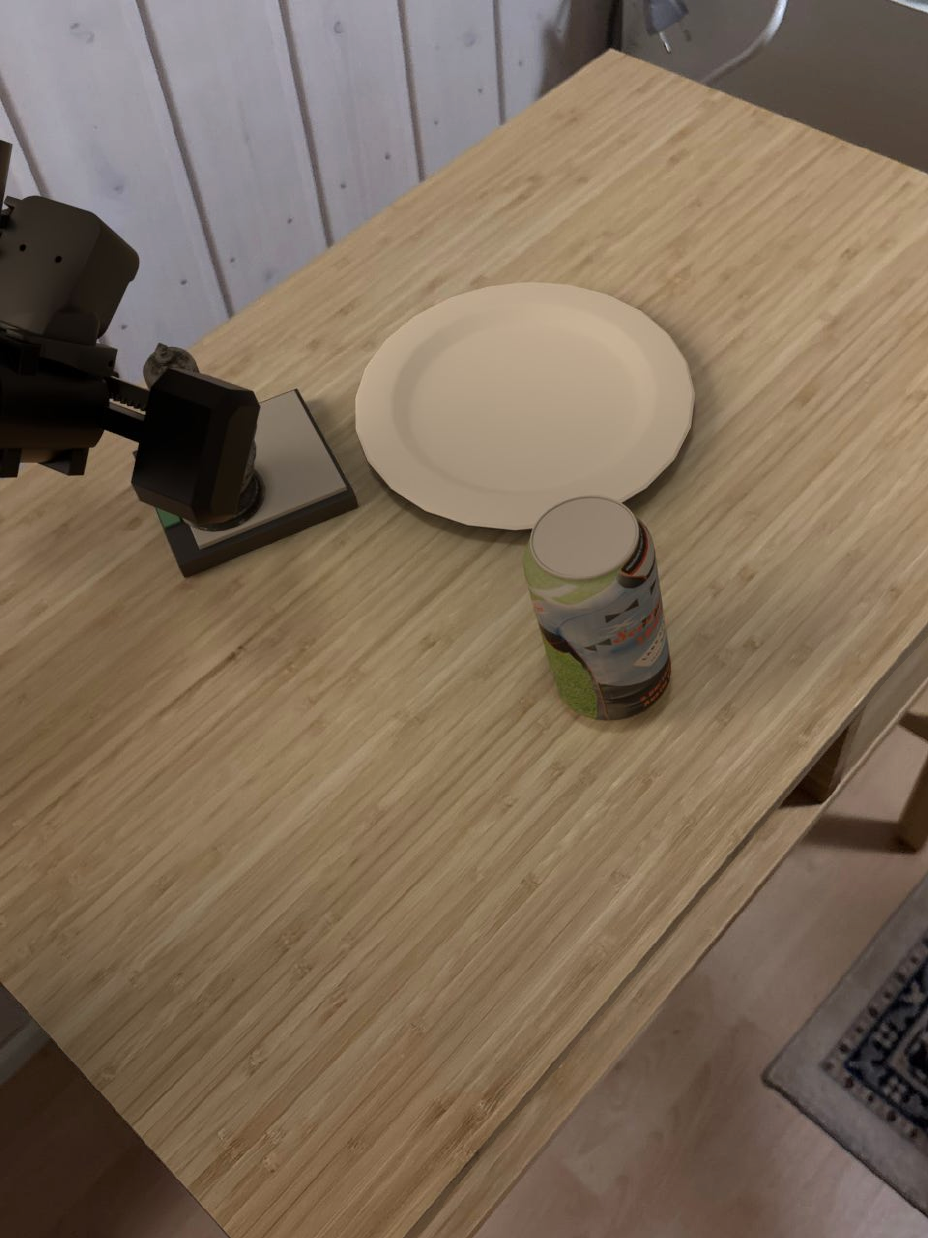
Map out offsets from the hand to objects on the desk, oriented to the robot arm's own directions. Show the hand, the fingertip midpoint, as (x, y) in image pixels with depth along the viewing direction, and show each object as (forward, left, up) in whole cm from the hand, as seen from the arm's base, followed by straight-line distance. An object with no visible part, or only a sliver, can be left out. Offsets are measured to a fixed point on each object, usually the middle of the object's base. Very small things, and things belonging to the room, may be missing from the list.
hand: (182, 406), depth 61 cm
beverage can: (+14, -20, -9) cm, 27 cm away
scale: (+2, +2, -9) cm, 10 cm away
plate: (+19, -1, -9) cm, 21 cm away
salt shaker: (0, 0, -8) cm, 8 cm away
